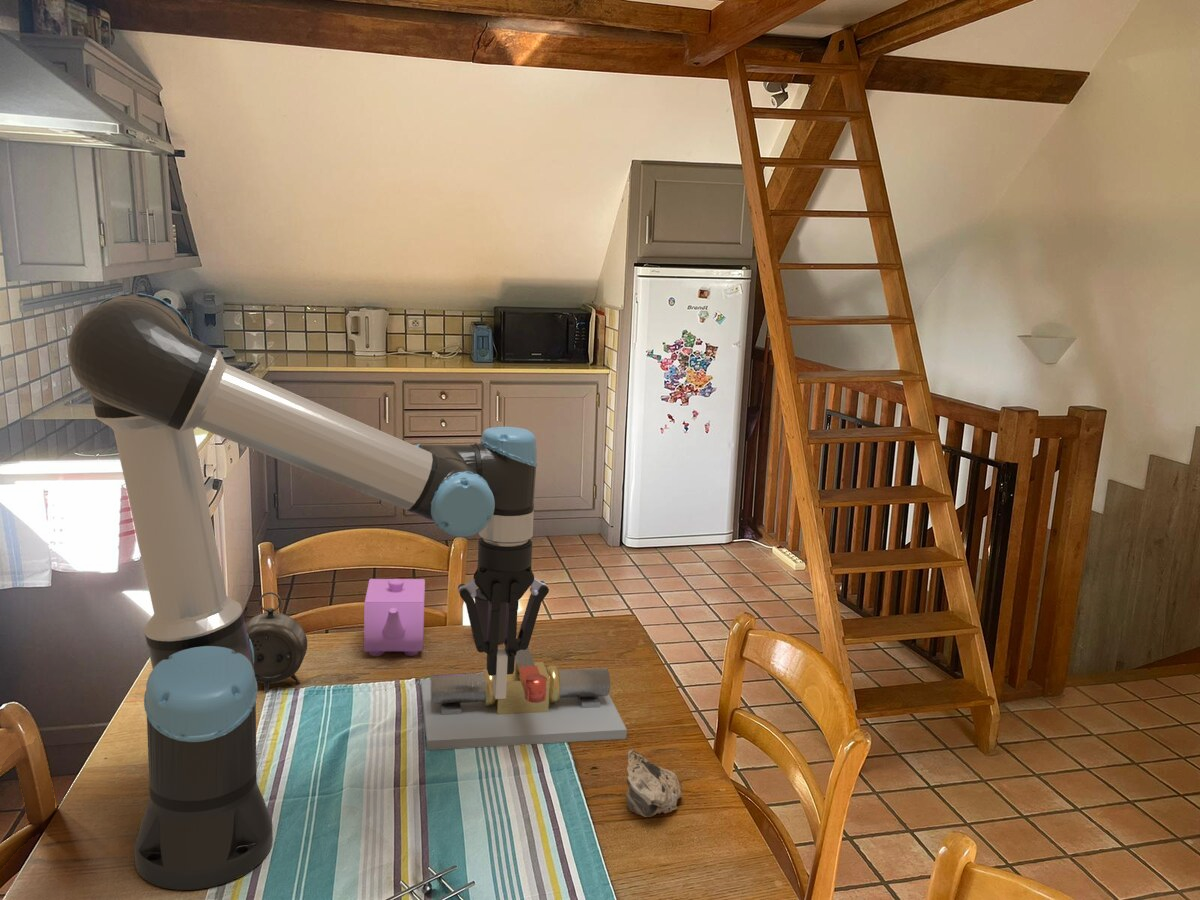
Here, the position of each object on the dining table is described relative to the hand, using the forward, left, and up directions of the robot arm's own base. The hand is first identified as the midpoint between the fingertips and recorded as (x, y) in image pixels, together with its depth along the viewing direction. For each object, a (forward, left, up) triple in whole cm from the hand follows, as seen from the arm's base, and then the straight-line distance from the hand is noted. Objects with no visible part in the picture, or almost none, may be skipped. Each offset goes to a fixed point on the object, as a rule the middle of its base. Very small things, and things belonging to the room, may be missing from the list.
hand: (499, 694), depth 138 cm
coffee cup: (+40, -4, -9) cm, 42 cm away
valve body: (+11, -5, -8) cm, 15 cm away
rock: (-17, -19, -9) cm, 27 cm away
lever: (+5, -5, -2) cm, 7 cm away
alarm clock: (+24, +34, -9) cm, 43 cm away
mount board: (+11, -5, -9) cm, 15 cm away
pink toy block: (+37, +14, -9) cm, 41 cm away
